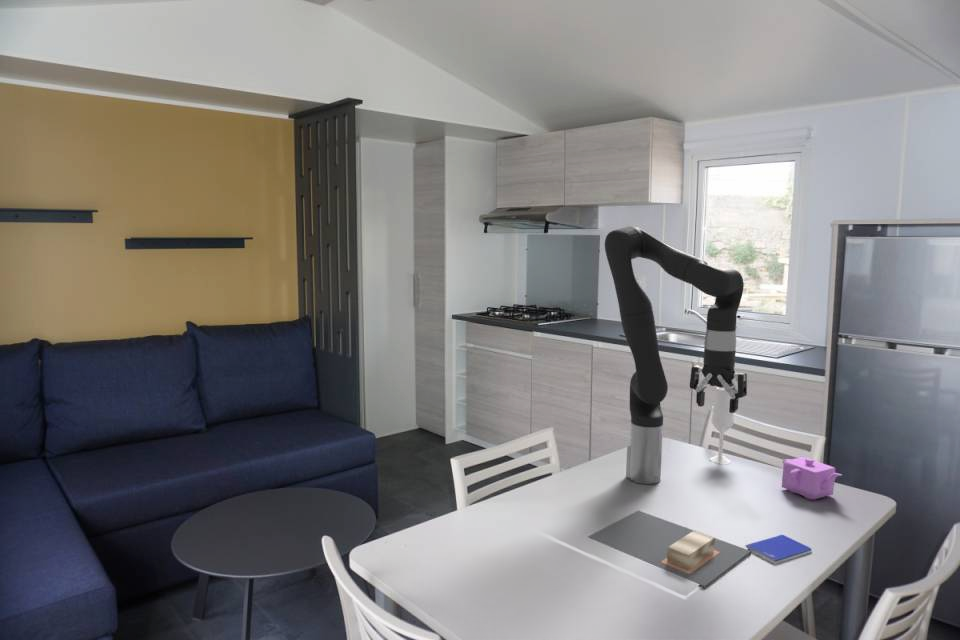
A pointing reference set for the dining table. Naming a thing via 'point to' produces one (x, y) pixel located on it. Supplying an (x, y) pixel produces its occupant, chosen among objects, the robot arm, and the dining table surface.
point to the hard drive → (778, 548)
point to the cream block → (690, 550)
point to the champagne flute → (721, 420)
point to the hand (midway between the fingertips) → (716, 409)
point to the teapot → (808, 477)
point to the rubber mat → (656, 535)
